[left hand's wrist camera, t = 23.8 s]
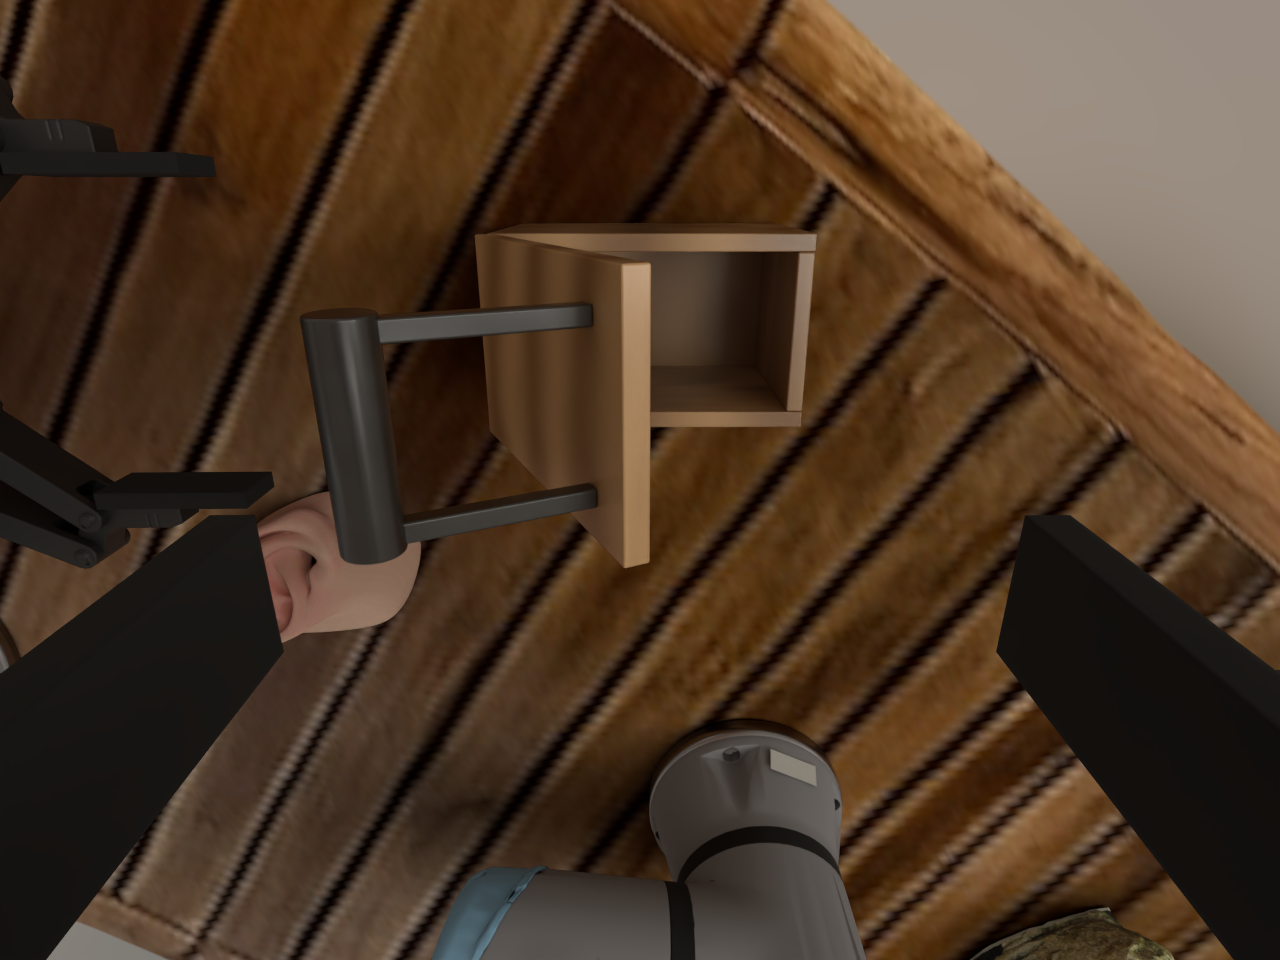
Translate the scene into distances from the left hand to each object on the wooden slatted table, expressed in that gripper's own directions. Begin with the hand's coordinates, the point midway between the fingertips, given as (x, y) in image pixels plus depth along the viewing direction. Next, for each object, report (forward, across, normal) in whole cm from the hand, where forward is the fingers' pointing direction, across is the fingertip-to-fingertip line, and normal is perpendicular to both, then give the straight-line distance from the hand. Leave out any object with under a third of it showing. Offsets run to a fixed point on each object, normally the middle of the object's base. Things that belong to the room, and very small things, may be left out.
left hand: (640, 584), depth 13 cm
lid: (+16, +3, 0) cm, 17 cm away
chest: (+35, 0, 0) cm, 35 cm away
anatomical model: (+35, +22, +18) cm, 45 cm away
